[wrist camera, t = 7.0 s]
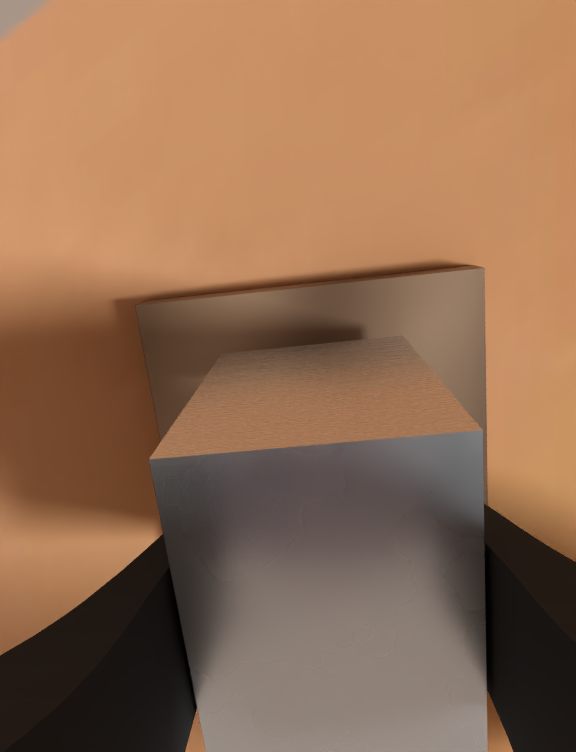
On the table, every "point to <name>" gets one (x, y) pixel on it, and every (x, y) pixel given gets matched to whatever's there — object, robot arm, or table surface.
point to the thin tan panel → (322, 330)
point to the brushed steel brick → (329, 552)
